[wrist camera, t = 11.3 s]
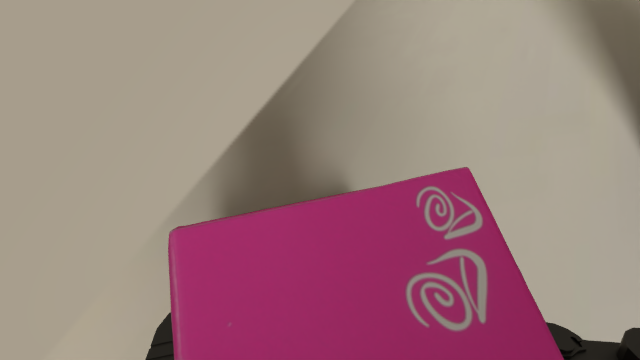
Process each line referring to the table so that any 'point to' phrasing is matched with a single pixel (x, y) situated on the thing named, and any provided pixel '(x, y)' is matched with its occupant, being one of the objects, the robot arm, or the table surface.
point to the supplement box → (356, 280)
